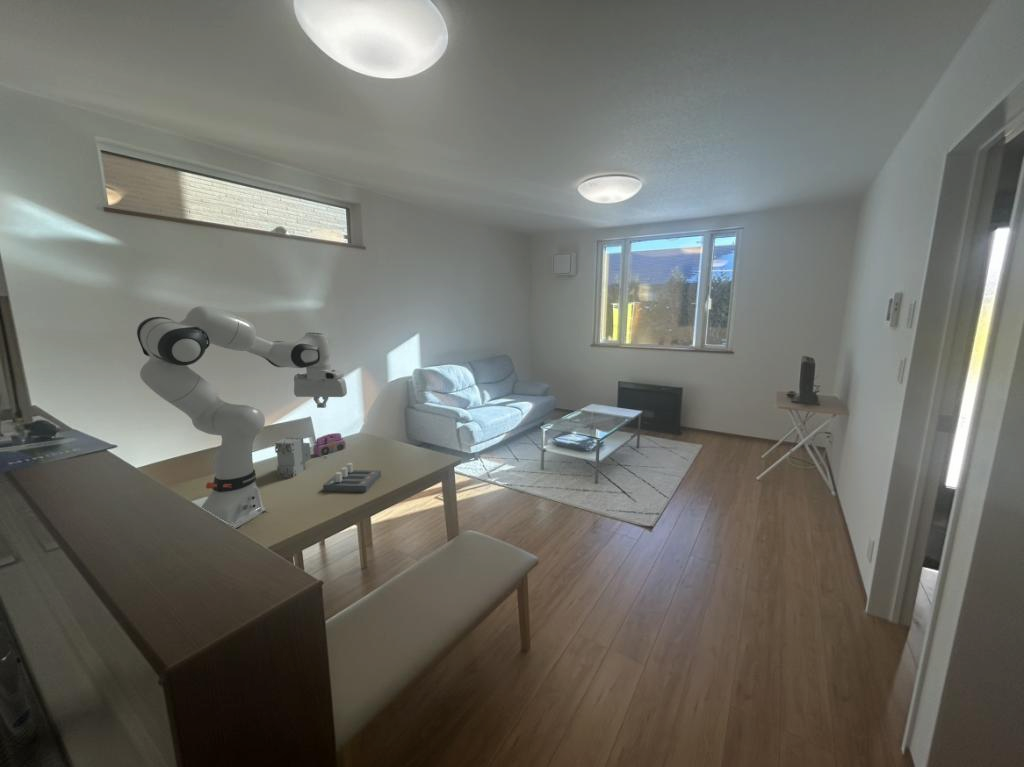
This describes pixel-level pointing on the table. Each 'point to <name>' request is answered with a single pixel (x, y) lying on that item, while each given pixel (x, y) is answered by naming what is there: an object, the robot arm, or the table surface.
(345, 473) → the breaker mid
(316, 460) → the table surface
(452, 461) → the table surface
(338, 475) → the breaker near
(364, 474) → the panel
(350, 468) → the breaker far
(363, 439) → the table surface
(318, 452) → the pink toy car
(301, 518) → the table surface
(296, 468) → the circuit breaker
